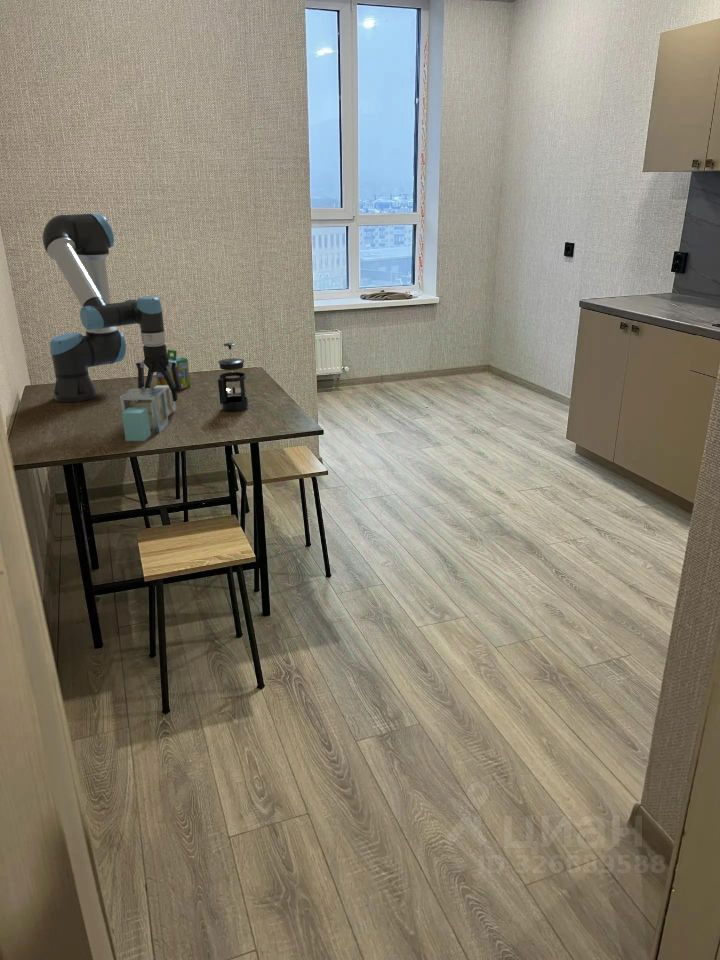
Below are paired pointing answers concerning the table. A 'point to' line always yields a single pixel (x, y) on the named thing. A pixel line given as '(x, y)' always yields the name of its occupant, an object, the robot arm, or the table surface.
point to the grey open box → (146, 394)
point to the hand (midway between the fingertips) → (162, 410)
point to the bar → (149, 406)
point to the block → (136, 424)
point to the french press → (233, 401)
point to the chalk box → (181, 367)
